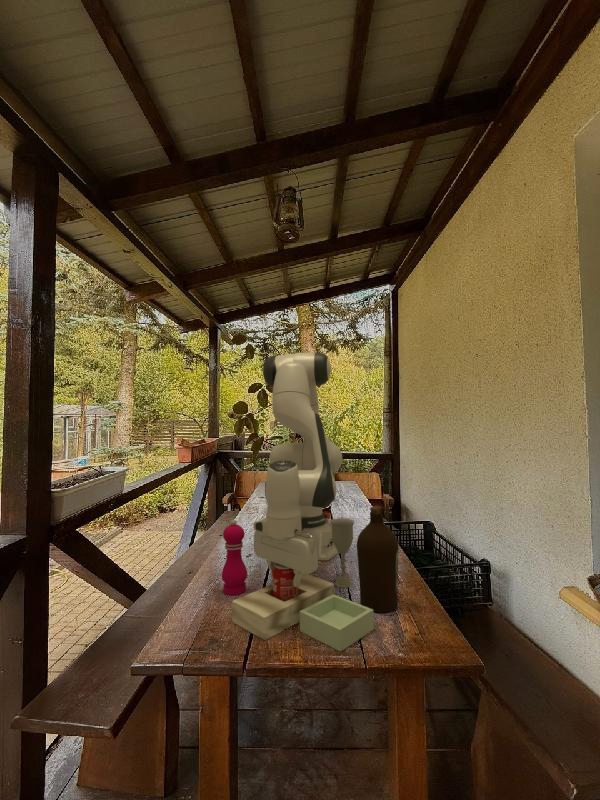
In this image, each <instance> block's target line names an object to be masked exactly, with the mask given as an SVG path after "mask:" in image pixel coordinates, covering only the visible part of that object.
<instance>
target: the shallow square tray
mask: <svg viewBox="0 0 600 800" xmlns="http://www.w3.org/2000/svg"><path fill="white" fill-rule="evenodd" d="M374 618H375V617H374V612H373V609H370V608H368V607H365V606H363V605H361V603H357V602H354V601H351V600H349V599H347V598H344V597H341V596H339V595H336V594H335V595H334V594H333V595H331V596H329V597H327V598H325V599H323V600H321V601H319V602H317V603H315V604H313V605H311V606H309V607H307V608H305V609H303V610H301V611H300V622H299V632H301V633H303V634H304V635H306V636H308V637H310V638H313V639H314V640H317V641H319V642H320V643H323V644H324V645H326V646H329V647H330V648H333V649H335V651H336V650H337V651H339V652H342V651H344V650H346V649H347V648H348V647H350V646H351V645H353V644H354V643H356V642H357V641H359V640H360V639H362V638H363V637H365V636H367V635H368V634H369V633H370V631H371V632H373V631H374V630H373V629H375V624H374V622H375V621H374ZM367 633H368V634H367Z"/></svg>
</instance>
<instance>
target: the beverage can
mask: <svg viewBox="0 0 600 800" xmlns="http://www.w3.org/2000/svg"><path fill="white" fill-rule="evenodd" d="M272 577H273V578H272ZM272 577H271V578H272V584H273V597H275V598H277V599H279V600H281V601H284V602H286V601H288V600H290V599H292V598H294V597H296V596H298V587H294V586H292V585H291V583H292V582H291V579H292V578H294V577H295V573H294V569H291V568H288V567H286V566H283V565H280V564H277V563H276V564H275V567H274V568H273V570H272Z"/></svg>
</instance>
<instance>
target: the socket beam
mask: <svg viewBox="0 0 600 800" xmlns="http://www.w3.org/2000/svg"><path fill="white" fill-rule="evenodd" d="M335 586H336V585H335V583H333V582H330V581H328V580H325V579H322V578H319V577H316V576H314V575H311V574H305V573H303V575H302V577H301V579H300V586H299V587H298V596H296V597H294V598H292V599H290V600H288V601H286V602H284V601H281V600H279V599H277V598H275V597H273V583H272V584H269V585H267V586H265V587H263V588H259V589H258V590H255V591H253V592H251V593H247V594H246V595H243V596H241V597H237V598H236V599H234V600H232V601H231V609H232V610H231V613H232V614H231V616H232V618H231V619H232V620H231V621H232V623H233V624H235V625H237V626H239V627H241V628H242V629H244V630H246V631H248V632H249V633H251V634H253V635H254V636H256V637H258V638H260V639H261V640H263V641H267V640H268V639H271V638H273V637H274V636H276V635H278V634H280V633H282V632H284V631H285V629H286V630H287V629H289V628H291V627H293V626H295V625H296V624H298V623H299V624H300V611H301V610H303V609H305V608H307V607H309V606H311V605H313V604H315V603H317V602H319V601H321V600H323V599H325V598H327V597H329V596H331V595H333V594H334V595H336V591H335V590H336V588H335ZM294 624H295V625H294ZM292 625H293V626H292ZM290 626H291V627H290Z"/></svg>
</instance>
